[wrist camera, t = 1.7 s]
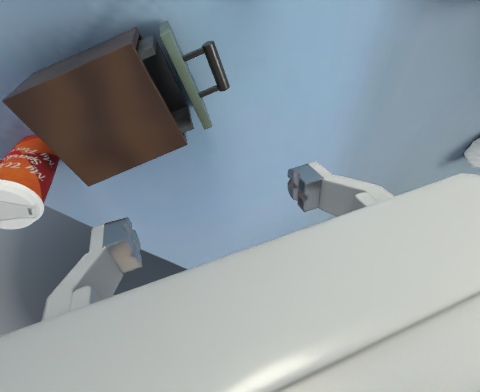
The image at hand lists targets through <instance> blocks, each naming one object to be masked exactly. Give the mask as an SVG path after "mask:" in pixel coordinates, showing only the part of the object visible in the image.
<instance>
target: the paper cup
mask: <svg viewBox="0 0 480 392" xmlns="http://www.w3.org/2000/svg"><path fill="white" fill-rule="evenodd" d="M58 162H59V157H58V156H57V155H56V154H55V153H54V152H53V151H52V150H51V149H50V148H49V147H48V146H47V145H46V144H45V143H44V142H43V141H42V140H41V139H40V138H39V137H38V136H29V137H26V138H24V139H22V140H21V141H20V142H19V143H18V144H17V145H16V146H15V147H14V148H13V149H12V150H11V151H10V152H9V153H8V154H7V155H6V156H5V157H4V158H3V159H2V160H1V161H0V228H2V229H19V228H24V227H26V226H28V225H30V224H32V223H33V222H34V221H36V220H37V219H39V218H40V217H41V216H42V214H43V212H44V201H45V198H46V196H47V193H48V191H49V188H50V186H51V183H52V180H53V177H54V174H55V171H56V168H57V165H58Z"/></svg>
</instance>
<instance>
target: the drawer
mask: <svg viewBox="0 0 480 392" xmlns="http://www.w3.org/2000/svg"><path fill="white" fill-rule="evenodd" d="M160 37H161V39H162V42H163V44H164V46H165V48H166V50H167V52H168V54H169V56H170V58H171V60H172V63H173V65H174V67H175V69H176V71H177V73H178V75H179V77H180V79H181V81H182V84H183V86H184V88H185V90H186V92H187V94H188V96H189V98H190V100H191V102H192V105H193V107H194V109H195V111H196V113H197V115H198V117H199V119H200V121H201V123H202V126H203V128H204V130H205V129H208V128H210V127H212V124H211V121H210V118H209V115H208V112H207V109H206V106H205V103H204V101H203V99H202V97H204V96H206V95H209V94H211V93H213V92H216V91H218V90H219V91H225V90H227V89H228V88H229V87H230V86H229V83H228V80H227V77H226V74H225V71H224V69H223V66H222V63H221V60H220V57H219V54H218V52H217V49H216V46H215V43H214V41H208V42H206V43H204V44H203V45H202V47H203V48H199V49H197V50H195V51H193V52H190V53H188V54H186V55H184V56H183V54H182V51H181V49H180V47H179V45H178V42H177V40H176V38H175V35H174V33H173V31H172V29H171V26H170V24H169V22H168V20H167V21H165V22H162V23H160ZM136 50H137V52H138V54H139V56H140V57H141V59H142V61H143V63H144V65H145V67H146V68H147V70H148V72H149V74H150V76H151V77H152V79H153V81H154V83H155V85H156V87H157V88H158V90H159V92H160V94H161V96H162V97H163V99H164V101H165V103H166V105H167V106H168V108H169V110H170V112H171V114H172V116H173V117H174V119H175V121H176V123H177V125H178V126H179V128H180V130H181V132H182V133H185V132H187V131H190V130H192V129H194V127H193V123H192V118H191V113H190V109H189V106H188V104H187V102H186V100H185V98H184V96H183V94H182V92H181V90H180V88H179V86H178V84H177V82H176V80H175V78H174V76H173V74H172V72H171V69H170V67H169V65H168V63H167V61H166V59H165V57H164V55H163V53H162V51H161V49H160V47H159V45H158V43H157V41H156V39H155V37H154V35H153V34H152V35H150V36H148V37H146V38H143V39H141V40H139V41H138V42H137V46H136ZM204 53H205V55H206V58H207V60H208V63H209V66H210V68H211V71H212V73H213V76H214V79H215V81H216V84H217V85H215V86H213V87H211V88H208V89H206V90H204V91H201V92H199V90H198V88H197V85H196V83H195V81H194V79H193V76H192V74H191V72H190V69H189V67H188V65H187V63H186V61H188V60H190V59H192V58H194V57H197V56H199V55H201V54H204Z"/></svg>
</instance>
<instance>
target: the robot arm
mask: <svg viewBox="0 0 480 392" xmlns="http://www.w3.org/2000/svg"><path fill="white" fill-rule="evenodd" d="M288 177H289V178H290V180H289V182H288V191H289V194H290V196H291V197H292V198H293V200H296V201H298V206H299V207H300V208H301V209H302V210H303V211H304V212H306V211H309V210H313V209H316V208H319V209H321V210H324V211H326V212H328V213H330V214H332V215H335V216H337V217H335V218H333V219H330V220H327V221H324V222H321V223H318V224H316V225H313V226H310V227H307V228H304V229H301V230H299V231H296V232H293V233H290V234H287V235H284V236H282V237H279V238H276V239H273V240H270V241H267V242H265V243H262V244H259V245H256V246H253V247H251V248H248V249H245V250H242V251H239V252H237V253H234V254H231V255H228V256H225V257H222V258H220V259H217V260H214V261H211V262H208V263H205V264H203V265H200V266H197V267H194V268H191V269H189V270H186V271H183V272H180V273H177V274H174V275H172V276H169V277H166V278H163V279H160V280H158V281H155V282H152V283H149V284H146V285H143V286H141V287H138V288H135V289H132V290H129V291H127V292H123V293H121V294H118V295H115V296H113V294H114V292H115V290H116V288H117V286H118V284H119V282H120V281H121V279H122V277H123V274H125V273H128V272H130V271H133V270H135V269H138V268H141V267H142V261H141V255H140V253H139V251H140V249H141V248H140V242H139V238H138V235H137V233H136V231H135V230H133V229H132V223H131V221H130V219H129V218H128V217H127V218H123V219H120V220H116V221H112V222H109V223H105V224H102V225H98V226H95V227H93V228H92V233H91V241H90V249H89V253H87V254H85V255H84V257H82V259H81V260H80V261H79V262H78V263H77V265H76V266H75V267H74V268H73V269H72V270H71V271H70V272H69V274H68V275H67V276H66V277H65V278H64V280H63V281H62V282H61V283H60V284H59V285H58V286H57V287H56V289H55V290H54V291H53V292H52V293H51V294H50V296H49V297H48V298H47V301H46V305H45V309H44V313H43V317H42V321H41V322H39V323H36V324H33V325H30V326H27V327H25V328H22V329H19V330H16V331H13V332H10V333H8V334H5V335H2V336H0V392H480V175H475V174H467V173H462V174H457V175H454V176H451V177H448V178H445V179H442V180H440V181H437V182H434V183H431V184H428V185H426V186H423V187H420V188H417V189H414V190H411V191H409V192H406V193H403V194H400V195H397V196H394V195H392V194H391V193H390V192H388V191H387V190H386V189H384V188H383V187H381V186H380V185H375V184H371V183H367V182H363V181H359V180H355V179H351V178H347V177H343V176H339V175H334V176H333V175H332V174H331V173H330V172H329V171H327V170H326V169H325V168H324V167H323V166H321V165H320V164H319V163H318V162H316V161H313V162H310V163H307V164H305V165H302V166H298V167H295V168H292V169H289V170H288Z"/></svg>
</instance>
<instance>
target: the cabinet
mask: <svg viewBox="0 0 480 392" xmlns="http://www.w3.org/2000/svg"><path fill="white" fill-rule="evenodd" d="M141 39H142V37H141V35H140V33H139V31H138V29H137V27H135V28H133V29H131V30H129V31H126V32H124V33H122V34H120V35H117V36H115V37H113V38H111V39H109V40H106V41H104V42H102V43H100V44H97V45H95V46H93V47H91V48H89V49H86V50H84V51H82V52H80V53H78V54H75V55H73V56H71V57H69V58H66V59H64V60H62V61H60V62H58V63H55V64H53V65H51V66H49V67H46V68H44V69H42V70H40V71H38V72H35V73H33V74H32V75H31V76H29V77H28V78H27V79H26V80H25V81H24V82H23V83H22V84H20V85H19V86H18V87H17V88H16V89H15V90H14V91H13V92H12V93H10V94H9V95H8V96H7V97H6V98H5V99H4V100H3V102H4V103H5V104H6V105H7V106H8V107H9V108H10V109H11V110H12V111H13V112H14V113H15V114H16V115H17V116H18V117H19V118H20V119H21V120H22V121H23V122H24V123H25V124H26V125H27V126H28V127H29V128H30V129H31V130H32V131H33V132H34V133H35V134H36V135H37V136H38V137H39V138H40V139H41V140H42V141H43V142H44V143H45V144H46V145H47V146H48V147H49V148H50V149H51V150H52V151H53V152H54V153H55V154H56V155H57V156H58V157H59V158H60V159H61V160H62V161H63V162H64V163H65V164H66V165H67V166H68V167H69V168H70V169H71V170H72V171H73V172H74V173H75V174H76V175H77V176H78V177H79V178H80V179H81V180H82V181H83V182H84V183H85V184H86V185H87V186H91V185H93V184H96V183H98V182H100V181H103V180H105V179H107V178H110V177H112V176H115V175H117V174H119V173H122V172H124V171H126V170H129V169H131V168H133V167H136V166H138V165H141V164H143V163H145V162H148V161H150V160H152V159H155V158H157V157H159V156H162V155H164V154H167V153H169V152H171V151H174V150H176V149H178V148H181V147H183V146H185V145H187V139H186V133H182V132H181V130H180V128H179V126H178V125H177V123H176V121H175V119H174V117H173V116H172V114H171V112H170V110H169V108H168V106H167V105H166V103H165V101H164V99H163V97H162V96H161V94H160V92H159V90H158V88H157V87H156V85H155V83H154V81H153V79H152V77H151V76H150V74H149V72H148V70H147V68H146V67H145V65H144V63H143V61H142V59H141V57H140V56H139V54H138V52H137V50H136V46H137V42H138V41H139V40H141Z"/></svg>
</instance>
